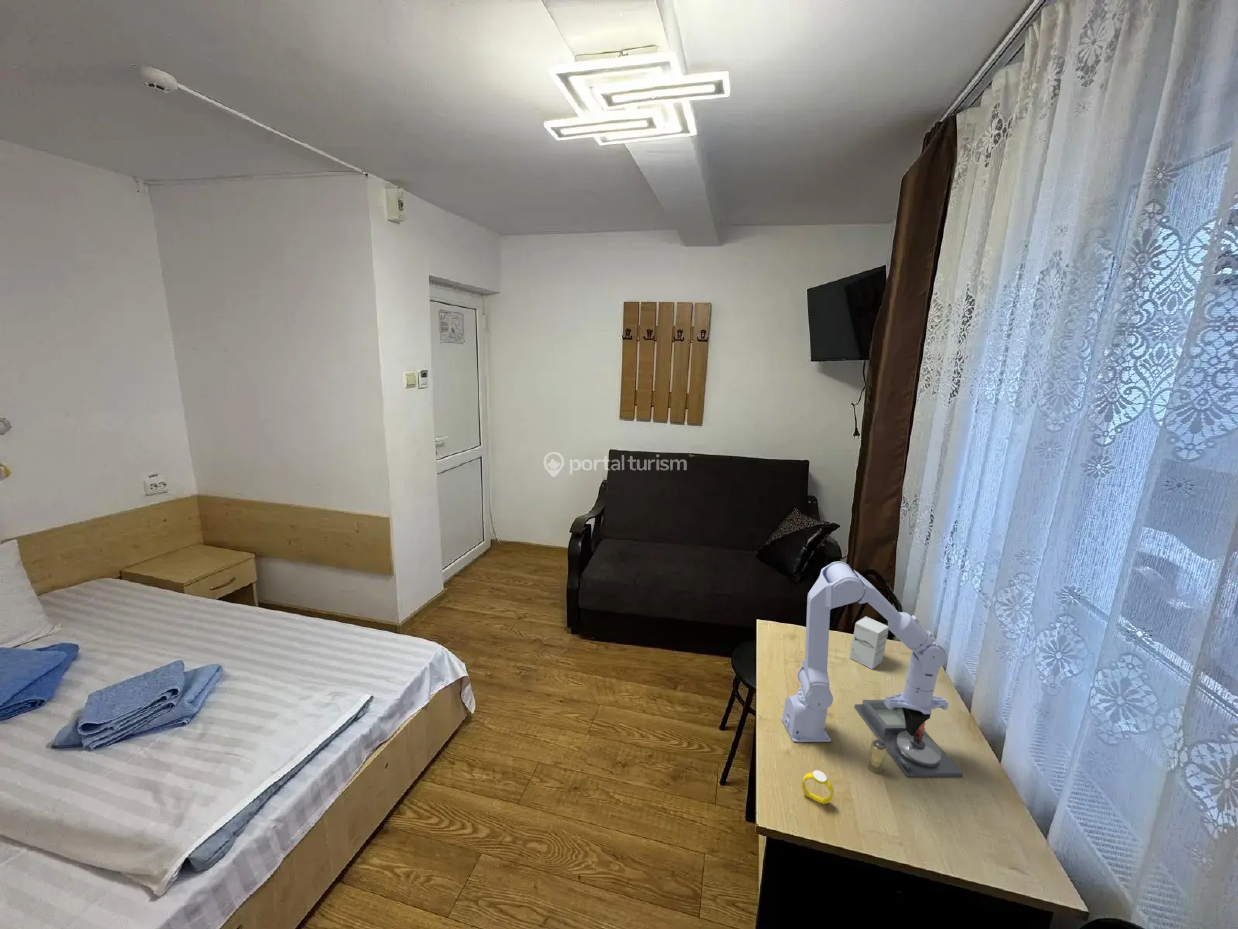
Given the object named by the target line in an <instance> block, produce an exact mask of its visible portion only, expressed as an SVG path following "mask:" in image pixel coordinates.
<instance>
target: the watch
mask: <svg viewBox="0 0 1238 929" xmlns="http://www.w3.org/2000/svg"><path fill="white" fill-rule="evenodd" d="M810 779H813V780H814V781H815V783H818V784H820V785H825V786H826V787H827V789H828V791H829V793H830V794H829V795H828V796H827V797H821V796H819V795H817V794H816V793H815V794H814V793H812V792H810V790H809V789H808V788H807V786H806V783H805V782H806V781H807V780H810ZM801 788H802V791H803V793H804V794H805V796H806V797H807V798H808V797H809V798H808V799H810V798H811V800H812V799H813V801H815V802H817V803H819V804H821V803H822V804H821V805H825V804H828V803H830V802H831V801H832V800H833V797H834V796H833V795H834V788H833V786H832V784H831V782H830V781H829V779H828V777H827V775H826V774H825V773H824V772H823V771H821V770H818V769H816V770H814V771H812V772H807V773H806V774H804V776H803V777H802V782H801Z"/></svg>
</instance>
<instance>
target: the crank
mask: <svg viewBox="0 0 1238 929" xmlns="http://www.w3.org/2000/svg"><path fill="white" fill-rule="evenodd" d="M925 725H926V721H925V722H924V723H923V724H922V725H921V726H920V727H919V729H918V730H917V732H916V733H915V735H914V736H911V735H910V734H909V733H908V732H907V731H903V732H900V733H899V734H898V735H897V740H896V746H897V748H898V750H899V751H900V752H901V753H902V754H903V755H904V756H905V757H906V758H908V759H909V760H911V761H913V762H915V763H917V764H920V765H923V766H928V767H933V766H937V765H938V764H939V763H940V759H941V751H940V749H939V747H940V746H939V745H938V744H937V743H936V742H935V741H934V742H935V743H936V744H937V745H938V746H939V747H938V746H937V745H936V744H935V743H934V742H933V741H931V740H930V739H929V738H927V737H925V736H923V731H924V728H925Z"/></svg>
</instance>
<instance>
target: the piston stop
mask: <svg viewBox="0 0 1238 929" xmlns="http://www.w3.org/2000/svg"><path fill="white" fill-rule="evenodd" d="M886 753H887V750H886V746H885V744H884V743H883V742H882V741H879V740H878V739H875V740H872V741H871V743H870V749H869V756H868V761H867V768H868V770H869V771H871V772H872V773H874V774H876V775H880V774H882V772H883V769H884V763H885V758H886Z"/></svg>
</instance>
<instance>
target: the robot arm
mask: <svg viewBox="0 0 1238 929" xmlns="http://www.w3.org/2000/svg"><path fill="white" fill-rule="evenodd" d="M806 599H807V600H806V602H807V603H806V604H807V605H806V622H805V623H806V627H805V629H806V630H805V631H806V632H805V650H804V651H805V653H804V655H805V656H804V659H802V661H801V666H800V668H799V670H798V672H797V679H798V682H799V683H800V687H799V688H798V690H797V693H796V694H794V695H791V696H787V697H786V698H785V700H784V706H783V707H784V708H783V714H782V716H781V721H782V723H783V725H784V727H785V729H786V731H787V732H788V734H789V736H790V738H791V740H792V742H794V743H809V742H810V743H817V742H818V743H819V742H820V743H825V742H827V743H828V742H829V743H830V742H831V741H832V739H831V737H830V736H829V734H828V732H827V731H826V729H825V728H826V721H827V716H828V708H830V707H831V706H832V704H833V702H834V696H833V693H832V692H831V690H830V680H829V678H830V677H829V672H828V663H829V662H828V661H829V660H828V659H829V658H828V657H829V637H830V623H831V620H830V619H831V618H830V617H831V610H832V609H835V608H839V607H843V606H845V605H849V604H853V603H856V602H857V603H858V604H859V605H862V604H866V603H868V604H869V605H870V606H871V607H872V608H873V609H874V610H875V611H877V612H878V613H879V614H880V615H881V616H882V617H883V618H884V619H886V620H887V626H888V628H889V630H888V631H890V632H891V633H892V634H893V635H894V636H895V637H896V638H897V639H898V640H899V641H901V643H903V645H905V646H906V648H908V649H909V650H911V654H910V659H909V664H908V667H907V668H908V669H907V673H906V678H905V684H904V688H903V692H900V693H897V694H894V695H891V696H885V697H884V700H885V701H884V704H885V706H886V707H887V708H888V709H893V707H896V708H902V711H903V714H904V718H905V725H906V731H907V732H908V733H909V734H910V735H911V736H914V735H915V733H916V732H917V730H918V729H919V727H920V726H921V725H922V724H923V723H924V722H925V723H926V722H927V721H928V720H929V719H930V718H931V714H932V711H933V710H935V709H937V708H938V709H939V708H940V709H942V710H948V708H949V702H948V700H946V699H945V698H944V696H935V695H934V693H935V688H936V682H937V679H938V674H939V673H940V672H939V671H940V668H942V667H943V666H945V664H946V663H947V661H948V657H947V655H946V649H945V648H944V647H943V645H941V644H940V643H939V642H938V641H937V639H936V638H935V637H934V634H933V633H932V632H931V631H930V630H926V629H925V628H924V627H923V626H922V625H921V624H920V620H919V619H918V618H917V617H916V616H915V615H913V614H912V615H910V613H908V612H905V611H902V612H901V611H898V610H897V609H896V608H895V607H894V606H893V604H891V602H889V601H888V599H887V598H885V596H883V595H882V594H881V592H880V591H879V590H878V589H877V588H876V587H875V586H874V585H873V584H872V583H871V582H870V581H869V580H867V579H866V578H865V577H864V576H863V575H861V574H860V573H859V572H858V571H856V570H855V569H852V568H851V566H850V564H847V563H846V562H844V561H839V560H838V561H833V562H831V563H830V564H827V565H826V566H824V567H823V568H821V570H820V573H819V576H818V578H817V579H816V581H815V583H814V584H813V585H812V587H811V589H810V590H809V592H807V598H806Z"/></svg>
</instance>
